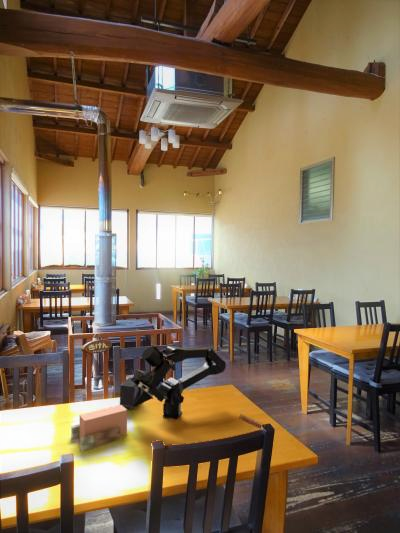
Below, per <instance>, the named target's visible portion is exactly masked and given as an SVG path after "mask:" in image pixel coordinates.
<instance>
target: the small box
mask: <svg viewBox="0 0 400 533" xmlns="http://www.w3.org/2000/svg"><path fill="white" fill-rule="evenodd" d="M132 377H133V376H132ZM132 377H131V376H130V377H129V376H128V378H127V379H126V380H124V381H123V382H122V383H121V384H120V385H119V405H122V406H123V407H124V408H126V409H127V410H131V411H133V410H134V409H135V408H136V407H133V406H132V405H133V402H134V399H135V397H136V394H137V387H136V384H135V383H134V382H133V381H131V379H132Z"/></svg>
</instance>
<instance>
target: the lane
mask: <svg viewBox="0 0 400 533" xmlns="http://www.w3.org/2000/svg"><path fill="white" fill-rule="evenodd" d="M70 429H71V430H70V433H71V436H70V437H71V439H73V440H74V439H77V438H79V440H80V444H79V445H80V447H79V448H80V450H81V452H84V451H87V450H90V449H94V448H97V447H100V446H102V445H105V444H109V443H112V442H116V441H118V440H119V441H120V440H121V435H120V428H119V427H116V428H113V429H109V430H106V431H102V432H99V433H96V434H92V435H89V436H85V437H82V438H80V423H78V424H76V425H71V428H70Z"/></svg>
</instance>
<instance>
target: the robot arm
mask: <svg viewBox="0 0 400 533" xmlns="http://www.w3.org/2000/svg"><path fill="white" fill-rule="evenodd" d="M141 358H142V360H143V361H144V362H146V363H147V365H149V366H150V367H151V368H152V369H148V370H147V371H146V370H145V371H144V370H140V369H138V368H136V369H135V371H134V374H133V376H132V379H131V381H133V382H134V383H135V384H136V387H137V394H136V397H135V399H134V402H133V405H132V406H133V407H135V408H136V407H139V406H140V405H141V404H144V403H146V402H147V401H150V400H153V399H154V398H156V399H157V400H158V401H159V402H160V403H162V402H163V401H164V403H163V404H162V407H163V408H162V414H163V415H162V418H166V419H167V418H168V419H174V420H175V419H176V420H178V419H179V417H180V416H181V415H182V413H183V412H182V411H181V409H182V408H181V407H182V403H184V399H185V397H184V396H183V395H182V394H183V391H184V390H186V389H187V388H190V387H191V386H193V385H195V384H197V383H198V382H200V381H202V380H203V379H205V378H207V377H209V376H214V375H220V374H222V373H223V372H225V371H226V367H227V365H226V362H225V360H223V358H221V357H220V356H219V355H218V353H216V352H215V350H214V349H213V348H212V347H211V348H210V347H208V346H204V347H186V348H185V347H179V346H175V345H167V346H166V348H164V349H161V350H159V349H158V347H157V346H156V345H154V344H151V346H150V347H148V348H146V349H144V351H143V352H142V354H141ZM197 358H198V359H201V358H204V364H203V365H202V366H201V367H199V368H197V369H195V370H193V371H191V372H189V373H188V374H185V375H184V376H181V377H180V378H179V379H176V378H174V377H169V378H168V379H166V380H164V378H165V377H166V375H168V373H169V372H170V370H171V371H173V372H176V367H175V364H177V363H180V362H184V360H189V359H197ZM172 362H173V363H172ZM159 385H160V386H159ZM158 386H159V388H157V387H158Z"/></svg>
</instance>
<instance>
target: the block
mask: <svg viewBox="0 0 400 533" xmlns="http://www.w3.org/2000/svg"><path fill="white" fill-rule="evenodd" d="M79 424H80V437H79V439H80V438H82V437H85V436H89V435H92V434H96V433H99V432H102V431H106V430H109V429H113V428H116V427H119V428H120V436H121V435H124V434H127V433H128V409H126V408H124V407H123V406H122V405H120V404H117V405H113V406H110V407H106V408H102V409H98V410H94V411H91V412H87V413H86V412H85V413H82V414H79Z"/></svg>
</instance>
